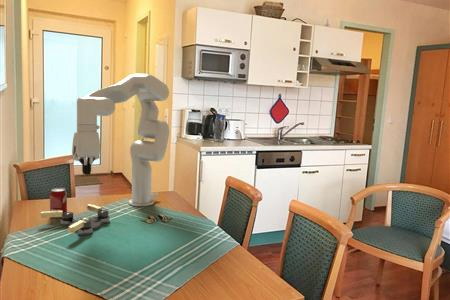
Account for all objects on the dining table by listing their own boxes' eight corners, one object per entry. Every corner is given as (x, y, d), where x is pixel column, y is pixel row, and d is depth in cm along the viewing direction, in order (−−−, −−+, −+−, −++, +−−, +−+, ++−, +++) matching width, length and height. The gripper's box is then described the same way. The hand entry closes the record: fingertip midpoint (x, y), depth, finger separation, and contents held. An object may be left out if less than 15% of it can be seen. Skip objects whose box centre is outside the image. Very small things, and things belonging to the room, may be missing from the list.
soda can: (60, 219, 163) (60, 192, 161) (46, 217, 164) (46, 190, 162) (70, 214, 169) (69, 188, 168) (56, 213, 171) (56, 187, 169)
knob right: (73, 217, 160) (73, 208, 159) (73, 220, 156) (73, 211, 155) (40, 219, 156) (39, 210, 155) (38, 222, 152) (38, 213, 151)
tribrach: (96, 215, 170) (96, 207, 170) (121, 226, 158) (121, 218, 157) (58, 223, 157) (58, 215, 157) (82, 236, 145) (82, 227, 144)
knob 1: (83, 225, 151) (83, 216, 150) (93, 226, 150) (93, 217, 149) (63, 236, 138) (63, 227, 138) (74, 237, 137) (74, 228, 137)
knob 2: (110, 216, 162) (110, 208, 162) (102, 219, 159) (101, 210, 158) (91, 210, 169) (91, 202, 169) (83, 212, 166) (83, 204, 165)
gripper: (99, 127, 159) (98, 170, 162) (64, 128, 148) (64, 174, 151) (108, 129, 154) (108, 173, 157) (73, 130, 143) (73, 177, 146)
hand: (86, 174), depth 154 cm, fingers closed
